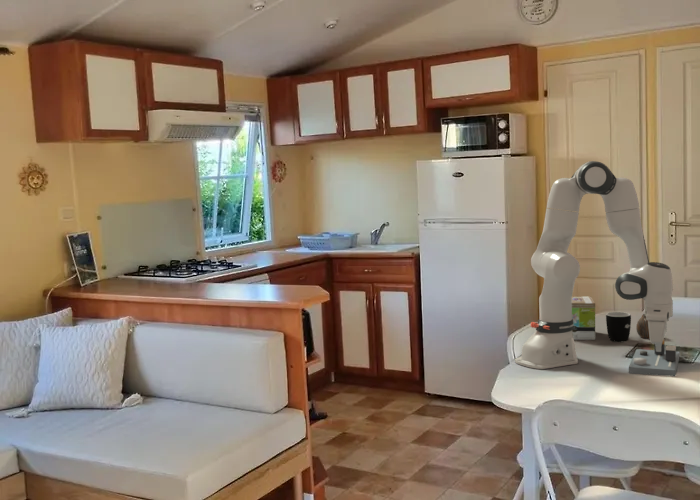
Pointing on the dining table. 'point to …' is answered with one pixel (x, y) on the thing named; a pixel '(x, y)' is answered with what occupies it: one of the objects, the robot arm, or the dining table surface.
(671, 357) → the fader white
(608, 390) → the dining table surface
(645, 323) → the vase
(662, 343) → the fader orange
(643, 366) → the console
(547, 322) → the robot arm
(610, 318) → the mug
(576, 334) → the tea box
